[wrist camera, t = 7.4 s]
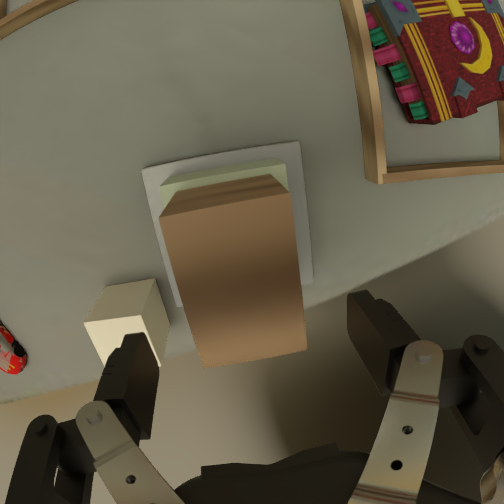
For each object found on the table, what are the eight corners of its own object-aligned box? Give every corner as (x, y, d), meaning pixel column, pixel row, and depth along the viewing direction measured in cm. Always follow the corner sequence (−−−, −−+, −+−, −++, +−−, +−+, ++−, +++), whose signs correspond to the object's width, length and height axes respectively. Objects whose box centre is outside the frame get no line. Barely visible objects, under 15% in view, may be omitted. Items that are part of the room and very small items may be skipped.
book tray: (321, -64, 17) (329, -77, 14) (472, -28, 17) (485, -33, 15) (365, 178, 26) (378, 184, 23) (504, 167, 26) (519, 171, 24)
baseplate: (144, 167, 24) (141, 169, 23) (295, 140, 24) (299, 141, 23) (178, 300, 28) (176, 307, 27) (310, 277, 29) (313, 283, 28)
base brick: (169, 176, 23) (159, 186, 19) (275, 158, 23) (285, 164, 20) (196, 293, 27) (193, 320, 23) (290, 277, 27) (300, 301, 23)
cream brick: (105, 286, 27) (83, 322, 22) (155, 277, 27) (140, 314, 22) (123, 330, 29) (107, 370, 24) (170, 324, 29) (161, 366, 24)
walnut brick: (175, 191, 20) (158, 217, 14) (270, 173, 20) (289, 192, 14) (206, 312, 23) (203, 368, 18) (287, 297, 23) (307, 349, 18)
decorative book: (501, 90, 23) (534, 91, 18) (395, 130, 24) (428, 134, 19) (463, -7, 18) (493, -17, 14) (341, 10, 20) (365, -9, 15)
